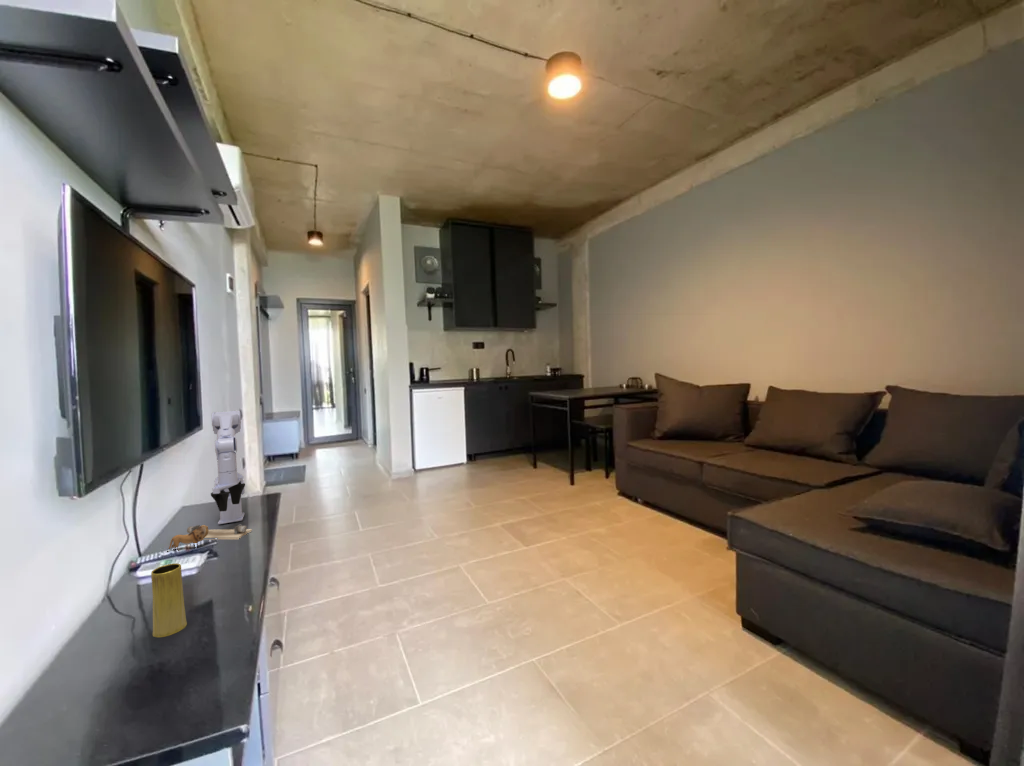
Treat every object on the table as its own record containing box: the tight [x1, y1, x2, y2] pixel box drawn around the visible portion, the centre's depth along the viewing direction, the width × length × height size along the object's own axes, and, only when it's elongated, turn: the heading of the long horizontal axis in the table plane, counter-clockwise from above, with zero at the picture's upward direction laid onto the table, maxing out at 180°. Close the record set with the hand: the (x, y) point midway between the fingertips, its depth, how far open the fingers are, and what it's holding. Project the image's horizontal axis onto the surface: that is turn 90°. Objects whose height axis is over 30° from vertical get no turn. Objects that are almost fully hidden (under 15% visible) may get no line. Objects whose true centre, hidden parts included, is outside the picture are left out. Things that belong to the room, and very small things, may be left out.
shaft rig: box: [186, 523, 253, 540], centre depth 150 cm, size 7×21×4 cm, turn 88°
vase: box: [150, 562, 188, 638], centre depth 95 cm, size 6×6×14 cm
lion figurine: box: [168, 524, 210, 550], centre depth 139 cm, size 12×4×7 cm, turn 121°
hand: (229, 507), depth 153 cm, fingers open, 7 cm apart
